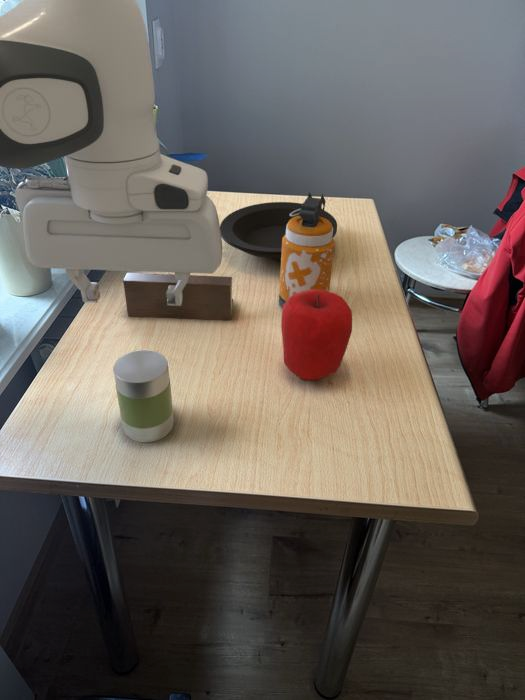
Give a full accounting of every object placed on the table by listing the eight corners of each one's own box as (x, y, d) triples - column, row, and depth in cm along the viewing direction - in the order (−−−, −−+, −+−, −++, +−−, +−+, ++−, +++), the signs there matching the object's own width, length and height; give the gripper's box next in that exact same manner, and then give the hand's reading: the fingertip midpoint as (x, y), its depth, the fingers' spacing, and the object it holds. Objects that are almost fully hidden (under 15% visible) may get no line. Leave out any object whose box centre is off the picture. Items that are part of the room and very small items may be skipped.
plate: (295, 289, 102) (297, 263, 98) (195, 257, 112) (194, 232, 108) (353, 240, 121) (357, 216, 118) (264, 216, 131) (265, 194, 128)
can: (131, 449, 67) (121, 389, 61) (116, 416, 72) (106, 358, 66) (181, 432, 70) (176, 373, 64) (163, 402, 75) (157, 344, 69)
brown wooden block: (127, 316, 92) (122, 280, 88) (134, 300, 97) (130, 265, 93) (230, 320, 92) (230, 285, 88) (233, 304, 97) (233, 269, 93)
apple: (330, 401, 76) (341, 321, 68) (266, 379, 79) (269, 301, 71) (353, 362, 84) (366, 286, 76) (294, 344, 87) (300, 269, 79)
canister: (272, 312, 95) (278, 204, 83) (288, 284, 103) (295, 182, 92) (321, 321, 93) (334, 211, 81) (333, 292, 101) (346, 189, 90)
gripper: (-4, 187, 49) (31, 313, 57) (216, 194, 49) (219, 319, 57) (23, 166, 54) (51, 284, 62) (222, 172, 54) (224, 290, 62)
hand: (133, 301), depth 60 cm, fingers open, 8 cm apart
